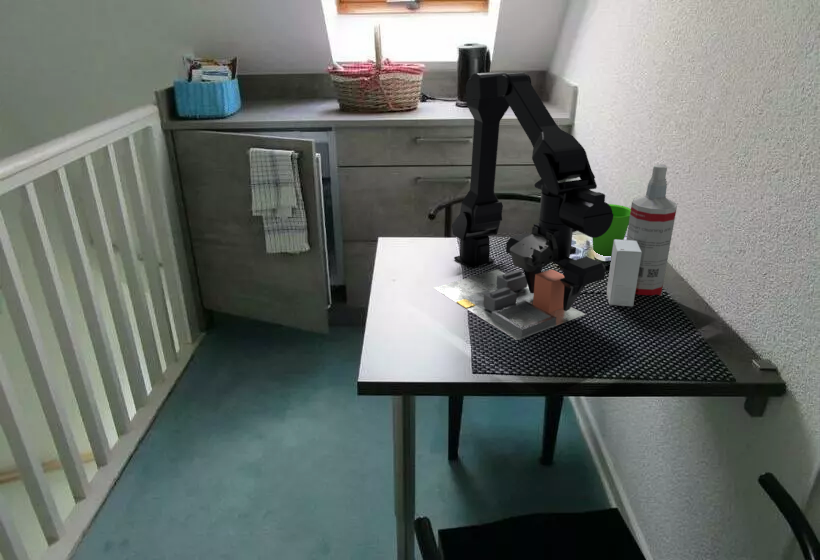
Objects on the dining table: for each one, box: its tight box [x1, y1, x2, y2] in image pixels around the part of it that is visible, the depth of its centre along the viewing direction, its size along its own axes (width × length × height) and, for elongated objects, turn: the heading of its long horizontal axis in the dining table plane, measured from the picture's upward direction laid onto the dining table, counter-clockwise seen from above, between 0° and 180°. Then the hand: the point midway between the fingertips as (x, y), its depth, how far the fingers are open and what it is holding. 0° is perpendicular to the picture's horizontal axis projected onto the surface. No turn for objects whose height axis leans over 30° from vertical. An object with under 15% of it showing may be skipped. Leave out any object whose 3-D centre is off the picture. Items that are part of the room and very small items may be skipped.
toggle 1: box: [496, 269, 528, 292], centre depth 113 cm, size 3×5×3 cm, turn 122°
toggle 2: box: [483, 287, 517, 312], centre depth 106 cm, size 3×5×3 cm, turn 122°
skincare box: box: [606, 239, 642, 307], centre depth 108 cm, size 6×4×12 cm
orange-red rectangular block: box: [533, 268, 565, 313], centre depth 106 cm, size 4×4×6 cm
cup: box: [592, 203, 631, 256], centre depth 129 cm, size 9×9×11 cm
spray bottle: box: [626, 163, 678, 297], centre depth 110 cm, size 8×8×25 cm
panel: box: [433, 269, 586, 341], centre depth 110 cm, size 24×16×3 cm, turn 32°
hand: (549, 301), depth 107 cm, fingers open, 8 cm apart
